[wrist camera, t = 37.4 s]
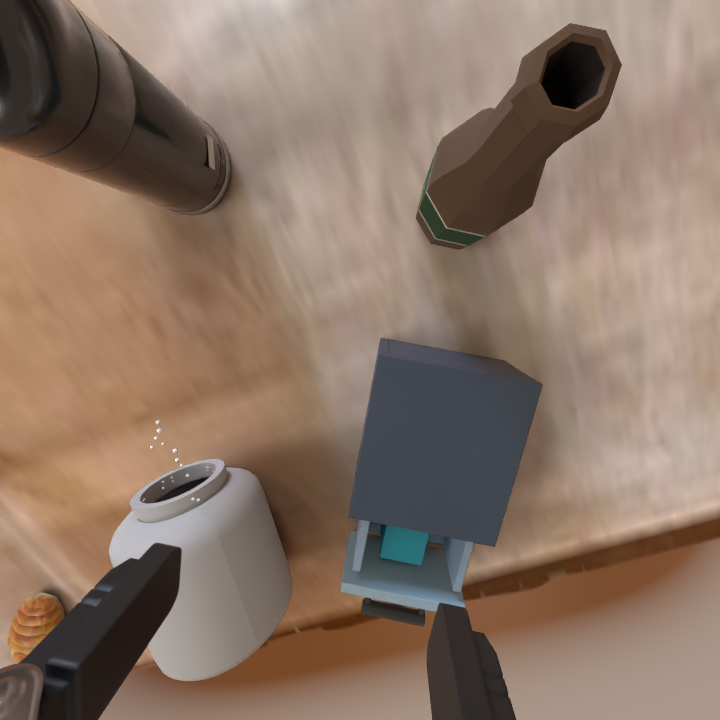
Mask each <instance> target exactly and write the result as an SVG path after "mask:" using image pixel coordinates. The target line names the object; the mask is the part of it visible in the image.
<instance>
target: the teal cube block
mask: <svg viewBox="0 0 720 720" xmlns="http://www.w3.org/2000/svg"><path fill="white" fill-rule="evenodd" d="M428 538H429V533H424V532H419V531H414V530H409V529H404V528H399V527H394V526H389V525H384V524H381V528H380V557H381V558H386V559H391V560H396V561H401V562H405V563H410V564H415V565H420V566H421V565H422V562H423V558H424V554H425V550H426V546H427V542H428Z"/></svg>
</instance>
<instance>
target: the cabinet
mask: <svg viewBox="0 0 720 720" xmlns="http://www.w3.org/2000/svg"><path fill="white" fill-rule="evenodd" d="M541 389H542V384H541V383H539V382H538V381H536V380H534V379H533V378H531V377H530V376H528V375H526V374H525V373H523V372H522V371H520V370H518V369H517V368H515V367H514V366H512V365H510V364H509V363H507V362H506V361H504V360H499V359H493V358H488V357H482V356H477V355H471V354H466V353H460V352H455V351H449V350H444V349H438V348H433V347H427V346H422V345H416V344H411V343H405V342H399V341H394V340H388V339H383V338H381V339H380V344H379V349H378V354H377V360H376V365H375V370H374V376H373V381H372V387H371V392H370V397H369V403H368V408H367V414H366V419H365V424H364V430H363V435H362V440H361V446H360V451H359V457H358V462H357V467H356V473H355V479H354V485H353V491H352V497H351V503H350V509H349V515H348V517H349V518H354V519H359V520H364V521H369V522H374V523H379V524H384V525H389V526H394V527H399V528H404V529H409V530H414V531H419V532H424V533H429V534H434V535H439V536H444V537H449V538H454V539H459V540H464V541H469V542H473V543H478V544H483V545H488V546H493V547H495V545H496V542H497V538H498V535H499V531H500V528H501V525H502V521H503V518H504V514H505V511H506V508H507V504H508V501H509V497H510V494H511V491H512V487H513V484H514V480H515V477H516V474H517V470H518V467H519V463H520V460H521V457H522V453H523V450H524V446H525V443H526V440H527V436H528V433H529V429H530V426H531V423H532V419H533V416H534V412H535V409H536V406H537V402H538V399H539V395H540V392H541Z"/></svg>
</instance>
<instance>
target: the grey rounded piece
mask: <svg viewBox="0 0 720 720" xmlns="http://www.w3.org/2000/svg"><path fill="white" fill-rule="evenodd" d="M160 423H161V422H160V421H156V424H157V425H159V424H160ZM157 432H158V433H162V432H163V429H162V428H159V429H158V430H157ZM157 439H158V437H154V440H157ZM161 445H164V443H161ZM152 448H153V446H150V449H152ZM173 452H174V453H177V452H178V449H174V450H173ZM175 461H176V462H179V458H176V459H175ZM130 506H131V509H132V512H131V513H130V514H129V515H128V516H127V517H126V518H125V519H124V521H123V522H122V523H121V524H120V525H119V527H118V528H117V530H116V531H115V533H114V535H113V538H112V541H111V544H110V547H109V553H110V558H111V562H112V565H113V568H115V567H116V566H118V565H120V564H121V563H123V562H125V561H126V560H128V559H129V558H134V559H140V558H141V556H142V555H143V554H144V553H145V552H146V551H147V550H148V549H149V548H150V547H151V546H152V545H153V544H154V543H162V544H167V545H172V546H176V547H180V548H181V549H182V557H181V571H180V584H179V591H178V595H177V598H176V601H175V603H174V605H173V607H172V609H171V611H170V613H169V614H168V616H167V617H166V619H165V620H164V622H163V623H162V625H161V626H160V628H159V629H158V631H157V632H156V634H155V635H154V637H153V638H152V640H151V641H150V643H149V644H148V647H149V649H150V652H151V654H152V656H153V658H154V660H155V662H156V663H157V664H158V666H159V667H160V669H161V670H162V672H163V673H164V674H166V675H167V676H169V677H170V678H172V679H178V680H183V681H196V680H204V679H207V678H211V677H214V676H217V675H219V674H221V673H223V672H225V671H228V670H230V669H232V668H233V667H235V666H236V665H238V664H239V663H241V662H242V661H244V660H245V659H246V658H248V657H249V656H250V655H251V654H252V653H254V652H255V651H256V650H257V649H259V647H260V646H261V645H262V644H263V643H264V642H265V641H266V640H267V639H268V638H269V637H270V635H271V634H272V633H273V631H274V630H275V629H276V627H277V626H278V625H279V623H280V621H281V619H282V617H283V615H284V614H285V611H286V608H287V606H288V603H289V600H290V597H291V592H292V578H291V572H290V568H289V565H288V562H287V559H286V556H285V553H284V550H283V547H282V544H281V541H280V538H279V535H278V532H277V529H276V526H275V523H274V520H273V517H272V514H271V511H270V508H269V505H268V502H267V499H266V496H265V493H264V491H263V488H262V486H261V484H260V482H259V480H258V478H257V476H256V475H254V474H253V473H251V472H250V471H248V470H245V469H242V468H230V467H226V466H225V464H224V462H223V461H222V460H219V459H207V460H202V461H198V462H194V463H191V464H188V465H185V466H183V464H181V465H180V468H177V469H175V470H173V471H170V472H168V473H166V474H164V475H162V476H160V477H159V478H157V479H155V480H154V481H152V482H150V483H149V484H147V485H146V486H145V487H143V488H142V489H141V490H140V491H138V492H137V493H136V494H135V495H134V497H133V498H132V499H131V502H130Z"/></svg>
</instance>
